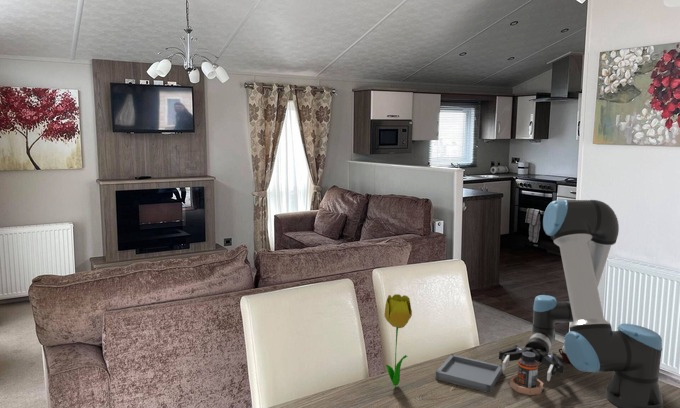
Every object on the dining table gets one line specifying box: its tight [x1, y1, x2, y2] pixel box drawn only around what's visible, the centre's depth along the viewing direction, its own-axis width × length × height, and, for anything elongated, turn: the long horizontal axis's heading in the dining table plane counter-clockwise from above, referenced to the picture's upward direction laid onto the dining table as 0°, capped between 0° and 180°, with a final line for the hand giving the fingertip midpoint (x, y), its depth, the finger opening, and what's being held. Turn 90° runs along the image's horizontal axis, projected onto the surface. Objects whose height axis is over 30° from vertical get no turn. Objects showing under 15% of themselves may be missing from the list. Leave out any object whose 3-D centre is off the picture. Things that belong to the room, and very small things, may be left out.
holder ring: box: [509, 375, 544, 396], centre depth 167 cm, size 10×10×2 cm
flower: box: [384, 293, 413, 388], centre depth 164 cm, size 9×8×30 cm
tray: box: [435, 353, 503, 394], centre depth 174 cm, size 18×16×2 cm
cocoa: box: [558, 345, 571, 364], centre depth 185 cm, size 10×6×12 cm, turn 13°
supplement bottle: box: [516, 352, 539, 388], centre depth 166 cm, size 6×6×11 cm
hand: (525, 371), depth 163 cm, fingers open, 13 cm apart
